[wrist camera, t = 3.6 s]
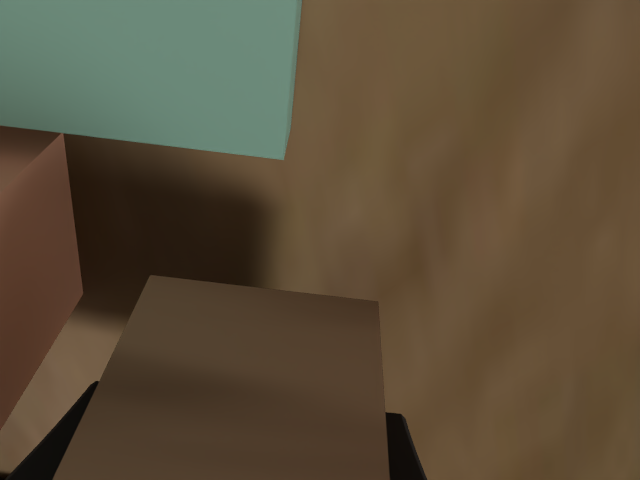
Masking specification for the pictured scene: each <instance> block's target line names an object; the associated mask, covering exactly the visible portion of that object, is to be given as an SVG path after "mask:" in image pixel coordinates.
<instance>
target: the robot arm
mask: <svg viewBox="0 0 640 480" xmlns="http://www.w3.org/2000/svg"><path fill="white" fill-rule="evenodd" d="M98 383H99V381H96V382H94V383H93V384H91V385H90V386H89V387H88V388H87V390H86V391H85V392H84V393H83V394H82V396H81V397H80V398H79V399H78V400H77V402H76V403H75V404H74V405H73V406H72V407H71V409H70V410H69V411H68V412H67V413H66V414H65V415H64V417H63V418H62V419H61V420H60V421H59V422H58V423H57V424H56V426H55V427H54V428H53V429H52V430H51V431H50V432H49V433H48V434H47V436H46V437H45V438H44V439H43V440H42V441H41V442H40V443H39V444H38V445H37V446H36V447H35V449H34V450H33V451H32V452H31V453H30V454H29V455H28V456H27V457H26V458H25V459H24V460H23V461H22V462H21V463H20V464H19V465H18V466H17V467H16V468H15V470H14V471H13V472H12V473H11V474H10V475H9V476H8V477H7V478H6V479H5V480H53V477H54V475H55V473H56V471H57V469H58V467H59V465H60V463H61V461H62V459H63V457H64V454H65V452H66V450H67V448H68V446H69V444H70V442H71V440H72V438H73V436H74V433H75V431H76V429H77V427H78V425H79V423H80V421H81V419H82V417H83V415H84V413H85V410H86V408H87V406H88V404H89V402H90V400H91V398H92V396H93V394H94V392H95V389H96V387H97V385H98ZM385 414H386V430H387V445H388V461H389V476H390V480H427V478H426V476H425V473H424V471H423V468H422V466H421V463H420V460H419V458H418V455H417V452H416V450H415V447H414V444H413V441H412V438H411V435H410V432H409V429H408V426H407V423H406V419H405V418H404V417H403V416H402V415H401V414H396V413H387V412H385Z"/></svg>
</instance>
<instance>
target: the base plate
mask: <svg viewBox="0 0 640 480" xmlns="http://www.w3.org/2000/svg"><path fill="white" fill-rule="evenodd" d="M301 5H302V0H0V125H1V126H9V127H17V128H25V129H34V130H42V131H50V132H58V133H67V134H75V135H83V136H91V137H99V138H108V139H116V140H124V141H132V142H141V143H149V144H157V145H165V146H174V147H182V148H190V149H198V150H206V151H215V152H223V153H231V154H239V155H248V156H256V157H264V158H272V159H280V160H284V155H285V151H286V147H287V142H288V138H289V133H290V129H291V118H292V107H293V95H294V84H295V73H296V62H297V50H298V39H299V28H300V17H301Z"/></svg>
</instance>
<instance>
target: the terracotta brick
mask: <svg viewBox="0 0 640 480" xmlns="http://www.w3.org/2000/svg"><path fill="white" fill-rule="evenodd" d="M82 295H83V287H82V279H81V271H80V263H79V255H78V247H77V239H76V231H75V223H74V215H73V207H72V199H71V191H70V183H69V175H68V167H67V159H66V151H65V143H64V135H63V133H58V132H50V131H42V130H34V129H25V128H17V127H9V126H1V125H0V430H1V428H2V427H3V425H4V423H5V422H6V420H7V419H8V417H9V415H10V414H11V412H12V410H13V409H14V407H15V405H16V404H17V402H18V400H19V399H20V397H21V395H22V394H23V392H24V391H25V389H26V387H27V386H28V384H29V382H30V381H31V379H32V377H33V376H34V374H35V372H36V371H37V369H38V367H39V366H40V364H41V363H42V361H43V359H44V358H45V356H46V354H47V353H48V351H49V349H50V348H51V346H52V344H53V343H54V341H55V339H56V338H57V336H58V335H59V333H60V331H61V330H62V328H63V326H64V325H65V323H66V321H67V320H68V318H69V316H70V315H71V313H72V312H73V310H74V308H75V307H76V305H77V303H78V302H79V300H80V298H81V297H82Z"/></svg>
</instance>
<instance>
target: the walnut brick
mask: <svg viewBox="0 0 640 480" xmlns="http://www.w3.org/2000/svg"><path fill="white" fill-rule="evenodd" d="M53 480H390V476H389V461H388V445H387V430H386V414H385V399H384V383H383V368H382V352H381V337H380V321H379V306H378V301H369V300H360V299H352V298H343V297H335V296H326V295H318V294H309V293H301V292H292V291H283V290H275V289H266V288H258V287H249V286H241V285H232V284H223V283H215V282H206V281H198V280H189V279H181V278H172V277H164V276H155V275H150V276H149V278H148V280H147V283H146V285H145V287H144V289H143V291H142V293H141V295H140V297H139V299H138V301H137V304H136V306H135V308H134V310H133V312H132V314H131V316H130V318H129V320H128V322H127V324H126V327H125V329H124V331H123V333H122V335H121V337H120V339H119V341H118V343H117V345H116V348H115V350H114V352H113V354H112V356H111V358H110V360H109V362H108V364H107V366H106V368H105V371H104V373H103V375H102V377H101V379H100V381H99V383H98V385H97V387H96V389H95V392H94V394H93V396H92V398H91V400H90V402H89V404H88V406H87V408H86V410H85V413H84V415H83V417H82V419H81V421H80V423H79V425H78V427H77V429H76V431H75V433H74V436H73V438H72V440H71V442H70V444H69V446H68V448H67V450H66V452H65V454H64V457H63V459H62V461H61V463H60V465H59V467H58V469H57V471H56V473H55V475H54V477H53Z"/></svg>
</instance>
